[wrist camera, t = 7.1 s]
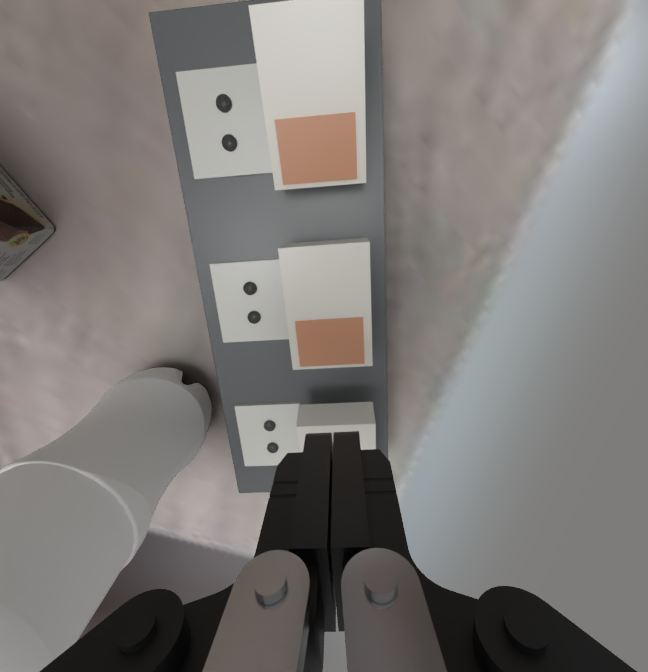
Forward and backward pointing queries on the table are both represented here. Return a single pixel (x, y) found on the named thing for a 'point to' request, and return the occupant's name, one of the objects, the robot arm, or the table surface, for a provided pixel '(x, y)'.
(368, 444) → the rocker
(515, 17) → the table surface
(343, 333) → the plate
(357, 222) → the power strip
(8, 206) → the coffee box
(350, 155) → the rocker
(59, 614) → the water bottle
